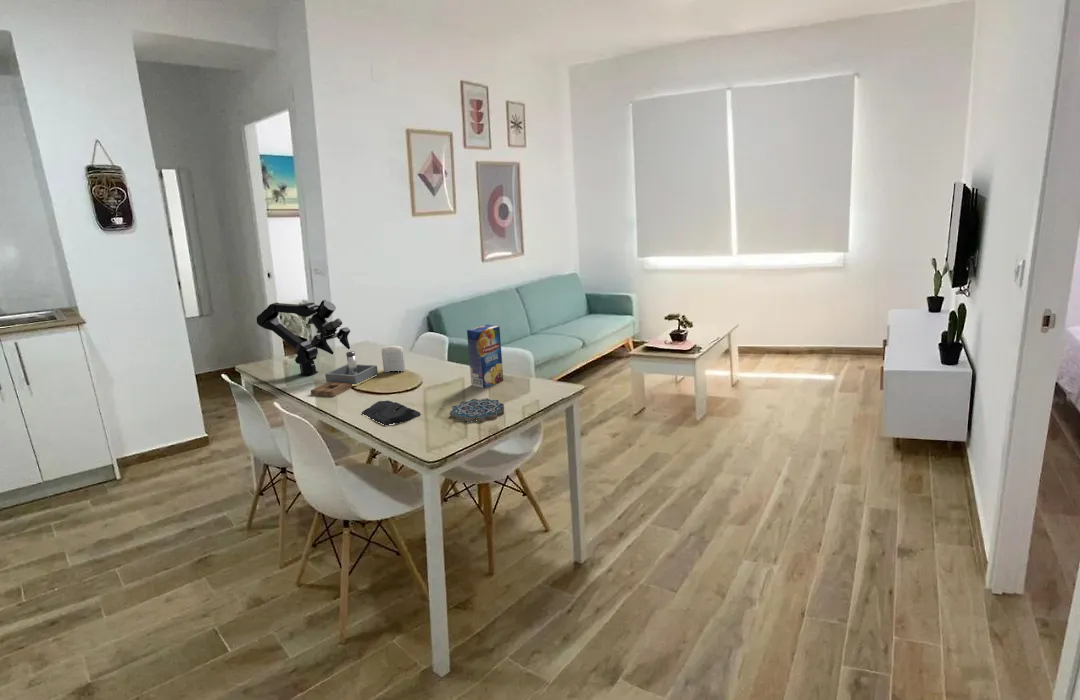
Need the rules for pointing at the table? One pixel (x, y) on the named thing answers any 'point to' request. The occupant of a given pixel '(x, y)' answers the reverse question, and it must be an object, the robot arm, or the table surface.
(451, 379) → the table surface
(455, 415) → the decorative tile
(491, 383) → the juice carton
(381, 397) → the table surface
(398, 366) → the photo printer
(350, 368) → the clear glass cylinder
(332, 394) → the bracket
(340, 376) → the tray
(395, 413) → the dark slate chunk
